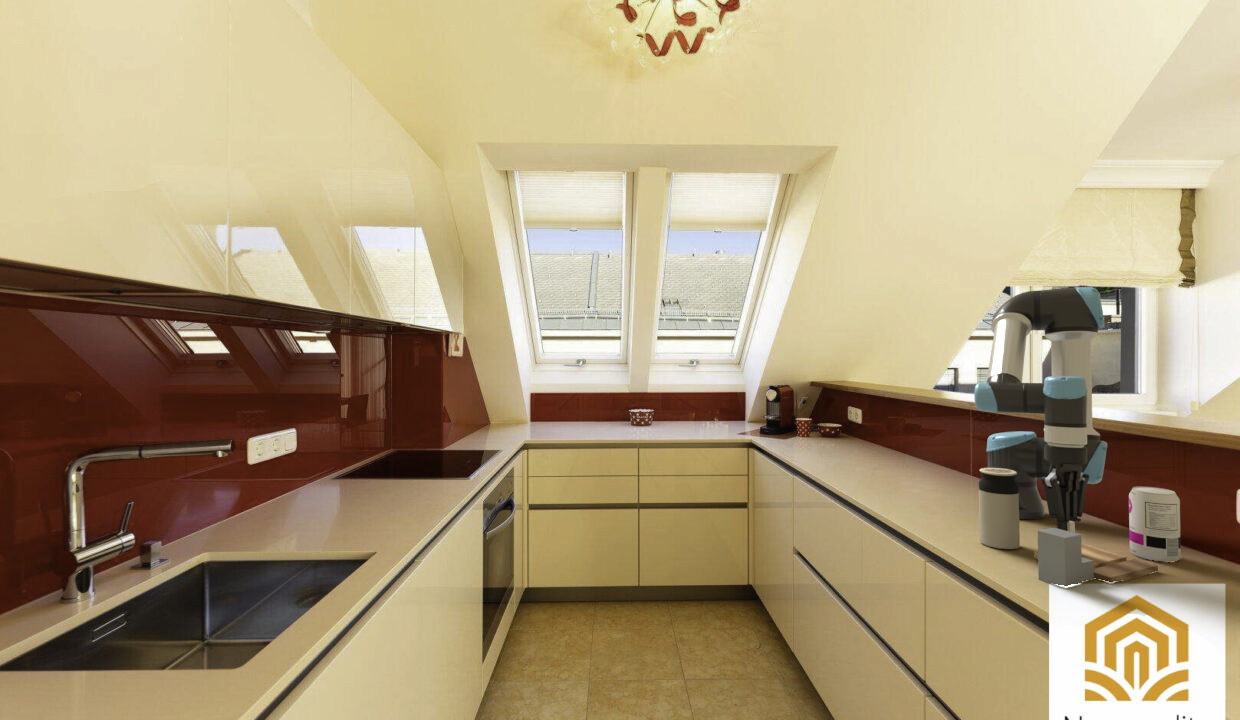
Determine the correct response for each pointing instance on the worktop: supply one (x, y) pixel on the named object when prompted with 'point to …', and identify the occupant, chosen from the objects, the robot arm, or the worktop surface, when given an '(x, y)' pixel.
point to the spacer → (1062, 558)
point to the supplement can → (1154, 524)
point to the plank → (1098, 556)
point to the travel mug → (999, 508)
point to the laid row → (1124, 570)
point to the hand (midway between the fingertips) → (1066, 549)
